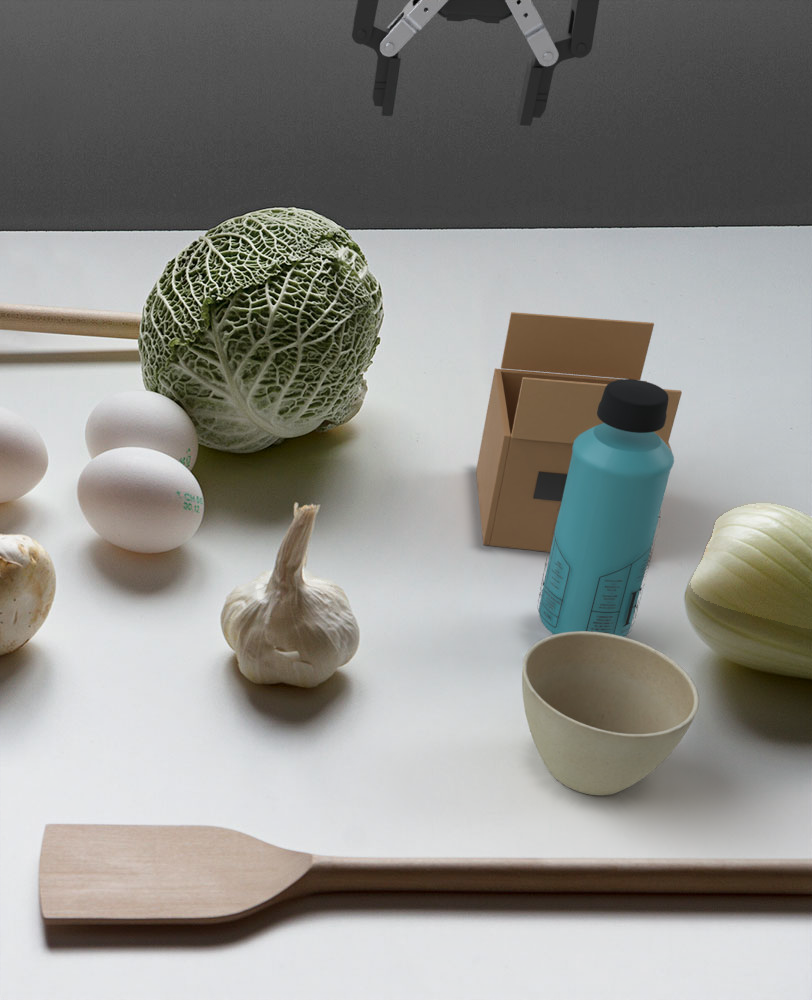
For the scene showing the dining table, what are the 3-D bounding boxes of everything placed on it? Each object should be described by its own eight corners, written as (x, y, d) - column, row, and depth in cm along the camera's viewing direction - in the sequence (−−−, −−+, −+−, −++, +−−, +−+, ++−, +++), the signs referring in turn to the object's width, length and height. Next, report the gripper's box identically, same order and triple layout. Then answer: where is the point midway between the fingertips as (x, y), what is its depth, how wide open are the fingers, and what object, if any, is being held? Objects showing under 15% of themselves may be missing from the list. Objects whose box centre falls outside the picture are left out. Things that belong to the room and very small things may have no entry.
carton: (619, 483, 112) (660, 323, 104) (642, 564, 101) (689, 392, 93) (475, 469, 114) (504, 311, 106) (483, 547, 103) (515, 378, 96)
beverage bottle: (626, 674, 90) (697, 419, 79) (526, 654, 92) (582, 402, 81) (627, 621, 95) (694, 375, 84) (532, 603, 97) (586, 360, 86)
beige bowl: (657, 726, 85) (683, 640, 81) (683, 837, 77) (714, 747, 73) (499, 705, 87) (517, 620, 83) (508, 811, 79) (529, 721, 75)
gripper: (377, -164, 72) (340, 126, 81) (645, -155, 70) (578, 143, 79) (377, -174, 79) (343, 96, 87) (624, -167, 76) (563, 111, 85)
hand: (454, 118), depth 83 cm, fingers open, 8 cm apart
